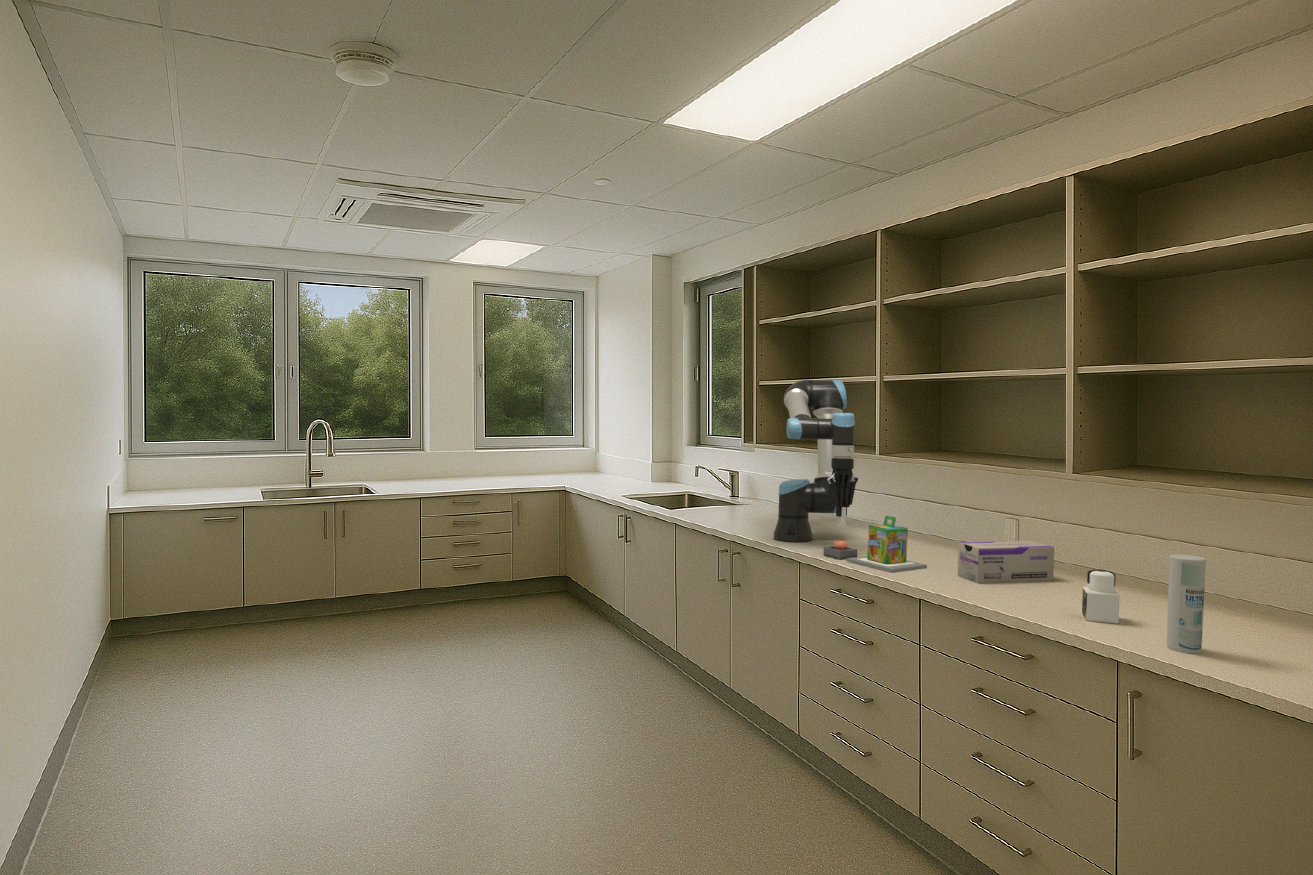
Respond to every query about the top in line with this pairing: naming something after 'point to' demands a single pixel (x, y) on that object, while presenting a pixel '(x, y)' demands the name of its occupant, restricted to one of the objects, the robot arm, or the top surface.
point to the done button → (840, 544)
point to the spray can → (1185, 603)
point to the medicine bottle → (1100, 597)
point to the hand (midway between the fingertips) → (841, 525)
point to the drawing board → (887, 567)
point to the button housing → (840, 553)
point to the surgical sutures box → (1005, 562)
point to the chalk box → (887, 542)
